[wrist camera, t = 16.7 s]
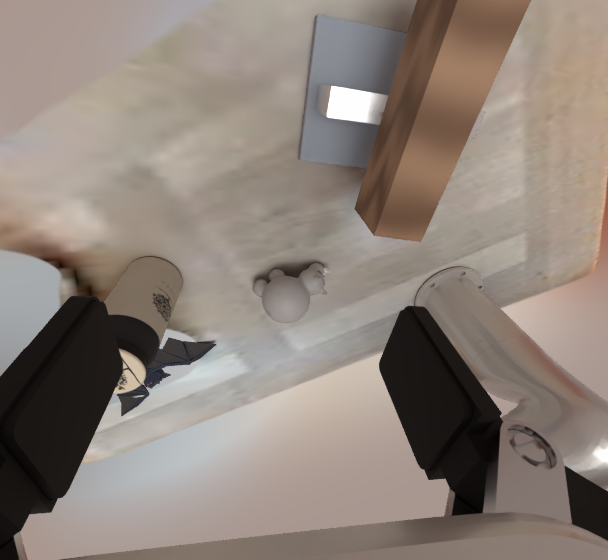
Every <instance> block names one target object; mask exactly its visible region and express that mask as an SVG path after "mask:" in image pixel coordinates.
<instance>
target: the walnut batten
mask: <svg viewBox="0 0 608 560" xmlns="http://www.w3.org/2000/svg"><path fill="white" fill-rule="evenodd" d="M530 1H531V0H417V2H416V6H415V9H414V12H413V16H412V19H411V22H410V26H409V29H408V32H407V36H406V39H405V42H404V46H403V49H402V52H401V56H400V59H399V62H398V66H397V69H396V72H395V76H394V79H393V82H392V86H391V89H390V92H389V96H388V99H387V102H386V106H385V109H384V112H383V116H382V119H381V122H380V126H379V129H378V132H377V136H376V139H375V142H374V146H373V149H372V152H371V156H370V159H369V162H368V166H367V169H366V172H365V176H364V179H363V182H362V186H361V189H360V192H359V196H358V199H357V202H356V206H355V210H356V211H357V213H358V214H359V215H360V217H361V218H362V220H363V221H364V222H365V224H366V225H367V227H368V228H369V229H370V231H371V232H372V234H373V235H374V236H380V237H388V238H395V239H403V240H411V241H418V242H421V240H422V238H423V236H424V234H425V232H426V229H427V227H428V225H429V223H430V221H431V218H432V216H433V214H434V212H435V210H436V207H437V205H438V203H439V201H440V199H441V196H442V194H443V192H444V190H445V188H446V185H447V183H448V181H449V179H450V177H451V175H452V172H453V170H454V168H455V166H456V164H457V161H458V159H459V157H460V155H461V153H462V150H463V148H464V146H465V144H466V142H467V139H468V137H469V135H470V133H471V131H472V128H473V126H474V124H475V122H476V120H477V117H478V115H479V113H480V111H481V109H482V106H483V104H484V102H485V100H486V98H487V96H488V93H489V91H490V89H491V87H492V85H493V82H494V80H495V78H496V76H497V74H498V71H499V69H500V67H501V65H502V63H503V60H504V58H505V56H506V54H507V52H508V49H509V47H510V45H511V43H512V41H513V38H514V36H515V34H516V32H517V30H518V27H519V25H520V23H521V21H522V19H523V16H524V14H525V12H526V10H527V8H528V6H529V3H530Z"/></svg>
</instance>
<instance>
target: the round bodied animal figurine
mask: <svg viewBox="0 0 608 560" xmlns="http://www.w3.org/2000/svg"><path fill="white" fill-rule="evenodd" d="M325 273H330V274H331V272H330V270H329V269H327V268H324V267H323V265H322V264H319V263H314V264H312V265H310V266H309V268H308V269H306V270H304V271H302V272H301V273H300V275H299V277H298V278H294V277H291V276H285V274H284V272H283V271H282V270H280V269H274V270H272V271H271V272H270V274H269V281H270V283H269V284H268V282H267V281H265V280H262V279H260V280H257V281H256V282H255V283H254V285H253V291H254V293H255V294H256V295H258V296H260V297H262V303H263V307H264V310H265V312H266V313H267V315H268V316H269V317H270V318H272V319H273V320H275V321H277V322H280V323H292V322H295V321H297V320H299V319H300V318H302V317H303V316H304V314H305V313H306V312H307V310H308V307H309V303H310V295H315V294H318V293H322V294H325V295H326V294H327V292H326V291H325V290H324V289H323V287H324V285H325V283H324V279H323V277H324V275H326V274H325Z"/></svg>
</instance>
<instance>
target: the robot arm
mask: <svg viewBox="0 0 608 560" xmlns="http://www.w3.org/2000/svg"><path fill="white" fill-rule="evenodd" d="M483 289H484V284H483V280H482V278H481V277H480V275H478V274H477V273H476V272H475V271H474V270H472V269H469V268H465V267H454V268H450V269H446V270H444V271H441V272H439V273H438V274H436V275H434V276H433V277H431V278H430V279H429V280H428V281H427V282H425V283H424V285H423V286H422V287H421V288H420V290H419V292H418V294H417V296H416V299H415V306H407V307H406V308H405V309H404V310H402V311H400V313H399V316H398V318H397V320H396V323H395V325H394V328H393V330H392V333H391V335H390V337H389V340H388V342H387V345H386V347H385V350H384V352H383V355H382V357H381V359H380V363H379V369H380V372H381V375H382V377H383V380H384V382H385V385H386V387H387V390H388V392H389V394H390V397H391V399H392V402H393V404H394V407H395V409H396V411H397V414H398V416H399V419H400V421H401V424H402V426H403V429H404V431H405V434H406V436H407V438H408V441H409V443H410V446H411V448H412V451H413V453H414V456H415V458H416V461H417V463H418V465H419V466H420V468H422V469H424V470H425V472H426V475H427V477H428V479H429V480H434V479H445V478H446V481H447V483H448V485H449V487H450V489H449V494H448V499H447V505H446V510H445V515H444V517H433V518H423V519H414V520H404V521H395V522H385V523H377V524H367V525H357V526H347V527H339V528H329V529H320V530H311V531H302V532H293V533H284V534H276V535H266V536H258V537H249V538H239V539H230V540H222V541H212V542H203V543H196V544H186V545H178V546H169V547H161V548H152V549H143V550H135V551H126V552H117V553H109V554H100V555H91V556H84V557H77V558H69V559H61V560H608V491H606V490H605V489H606V488H608V402H607V401H605V400H604V399H603V398H601V397H600V396H599V395H597V394H596V393H594V392H593V391H592V390H590V389H589V388H588V387H587V386H585V385H584V384H583V383H581V382H580V381H579V380H578V379H576V378H575V377H574V376H572V375H571V374H570V373H569V372H568V371H566V370H565V369H564V368H563V367H562V366H561V365H559V364H558V363H557V362H556V361H555V360H554V359H553V358H552V357H551V356H550V355H548V354H547V353H546V352H545V351H544V350H543V349H542V348H541V347H540V346H539V345H538V344H537V343H536V342H534V340H532V339H531V338H530V337H529V336H528V335H527V334H526V333H525V332H524V331H523V330H522V329H521V328H520V327H519V326H518V325H517V324H516V323H515V322H514V321H513V320H512V319H510V317H508V316H507V315H506V314H505V313H504V312H503V311H502V310H501V309H500V308H499V307H498V306H497V305H496V304H495V303H494V302H493V301H492V300H491V299H490V298H489V297H488V296H487V295H486V294H485V293H484V292H483ZM122 372H123V361H122V358H121V354H120V351H119V348H118V344H117V341H116V338H115V334H114V331H113V328H112V324H111V321H110V318H109V314H108V311H107V308H106V305H105V303H104V302H100V301H99V299H98V298H97V297H93V296H72V297H70V298H69V299H68V300H67V301H66V302H65V303H64V304H63V306H62V307H61V308H60V309H59V310H58V311H57V312H56V314H55V315H54V316H53V317H52V318H51V319H50V321H49V322H48V323H47V324H46V325H45V326H44V328H43V329H42V330H41V331H40V332H39V333H38V335H37V336H36V337H35V338H34V339H33V340H32V342H31V343H30V344H29V345H28V346H27V347H26V348H25V349H24V350H23V351H22V352H21V353H20V355H19V356H18V357H17V358H16V359H15V360H14V362H13V363H12V364H11V365H10V366H9V367H8V368H7V370H6V371H5V372H4V373H3V374H2V375H1V376H0V560H27V556H26V552H25V548H24V545H23V541H22V537H21V534H20V531H21V529H22V527H23V526H24V524H25V522H26V520H27V518H28V516H29V514H37V513H49V512H52V509H53V507H54V505H55V503H56V501H57V499H58V498H62V497H63V496H64V495H65V494H66V493H67V491H68V489H69V488H70V485H71V483H72V481H73V479H74V477H75V475H76V473H77V470H78V468H79V466H80V464H81V462H82V460H83V457H84V455H85V453H86V451H87V449H88V447H89V444H90V442H91V440H92V438H93V436H94V434H95V431H96V429H97V427H98V425H99V423H100V421H101V418H102V416H103V414H104V412H105V410H106V408H107V405H108V403H109V401H110V399H111V397H112V394H113V392H114V390H115V388H116V386H117V384H118V382H119V379H120V377H121V375H122ZM486 391H487V392H489V393H490V394H492V395H495V396H497V397H499V398H502V399H504V400H508V401H511V402H514V403H517V404H518V406H517V407H516V408H514V409H513V410H511V411H510V412H509V413H508V414H506V415H504V416H503V417H501V418H500V415H501V414H502V413H501V411H500V410H499V409H498V407H497V406H496V404H495V403H494V402H493V400H492V399H491V398H490V396H489V395H488V393H487V392H486Z"/></svg>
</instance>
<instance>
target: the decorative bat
mask: <svg viewBox="0 0 608 560" xmlns="http://www.w3.org/2000/svg"><path fill="white" fill-rule="evenodd" d="M215 345H216V344H207V343H195V342H185V341H180V340H176V339H172V338H168V340H167V342H166V344H165V346H164V347H163V349H158V352H157V354H156V357H155V359H154V361H153V362H152V363H151V364H150V365H149V366H148V367H146V368H145V369H146V377H145V380H144V384H145V386H146V387H149V388H152V387H153V386H155V385H156V384H159V383H160V381H161V380H162V378H166V377H168V376H170V374H167V373H164V371H163V370H162V369H161V368H164V367H165V366H175V365H190V364H191V363H192V362H194V361H196V360H198V359H200V358H202V357H203V356H204V355H205V354H206V353H207V352H208V351H210V350H211V349H212V348H213V347H214V346H215ZM145 386H144V385H142V384H141V385H140V386H139V387H137V388H136V389H134V390H132V391H129V392H125V393H119V394H117V396H119V399H120V401H121V403H122V406H121V416H123V415H124V414H126V413H127V412H129V411H131V410H132V409H134V408H135V407H137V406H138V405H139V404H140V403H141V402H142V401H143V400H144V399H145V398H146V397H147V396H149V392H148V390H147V389H146V387H145ZM139 395H145V396H144V397H138V398H134V397H136V396H139Z"/></svg>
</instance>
